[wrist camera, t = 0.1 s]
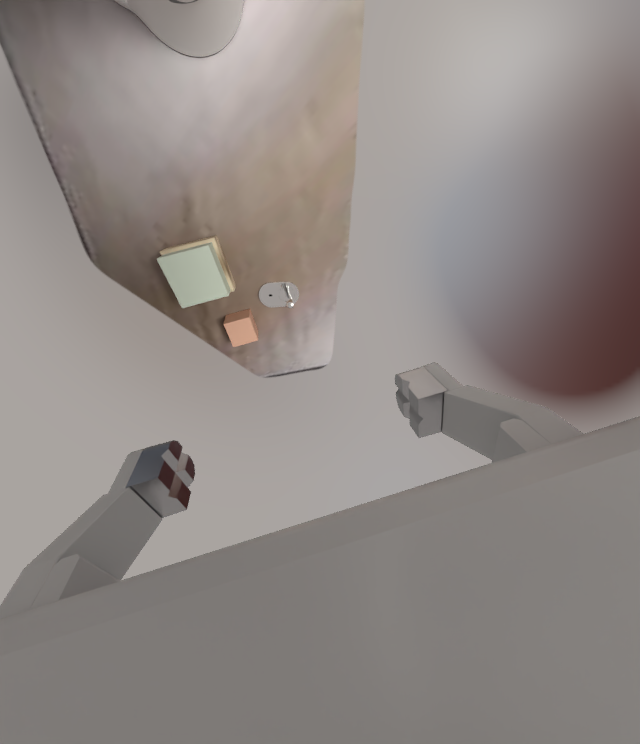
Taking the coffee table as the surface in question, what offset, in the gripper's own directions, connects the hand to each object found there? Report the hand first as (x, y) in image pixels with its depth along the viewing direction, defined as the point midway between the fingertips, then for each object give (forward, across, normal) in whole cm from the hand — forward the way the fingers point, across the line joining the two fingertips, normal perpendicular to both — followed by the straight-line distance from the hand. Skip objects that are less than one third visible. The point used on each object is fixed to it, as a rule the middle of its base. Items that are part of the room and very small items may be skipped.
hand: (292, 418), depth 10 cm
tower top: (+44, +12, +1) cm, 46 cm away
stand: (+48, 0, +10) cm, 49 cm away
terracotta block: (+48, +9, +13) cm, 51 cm away
